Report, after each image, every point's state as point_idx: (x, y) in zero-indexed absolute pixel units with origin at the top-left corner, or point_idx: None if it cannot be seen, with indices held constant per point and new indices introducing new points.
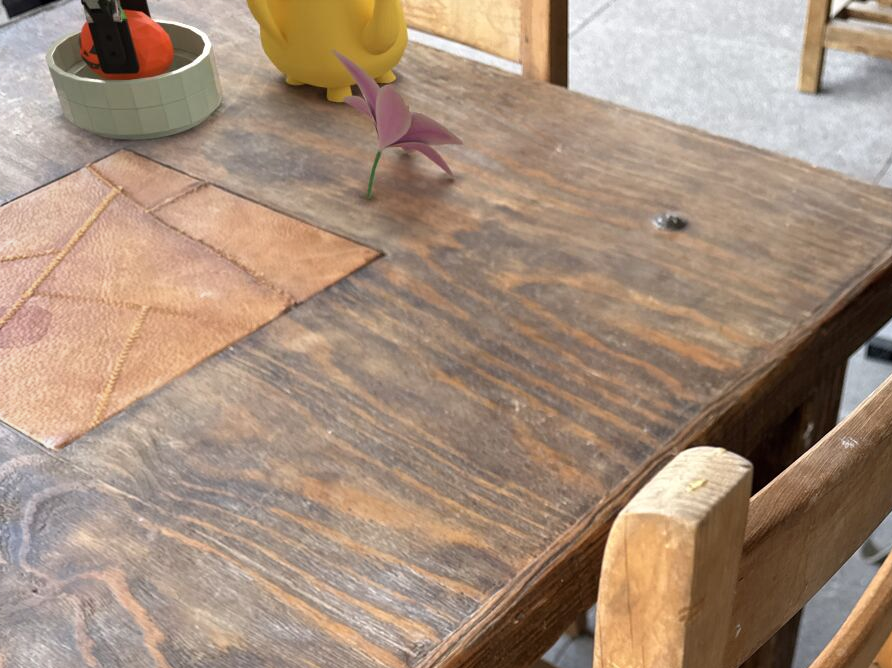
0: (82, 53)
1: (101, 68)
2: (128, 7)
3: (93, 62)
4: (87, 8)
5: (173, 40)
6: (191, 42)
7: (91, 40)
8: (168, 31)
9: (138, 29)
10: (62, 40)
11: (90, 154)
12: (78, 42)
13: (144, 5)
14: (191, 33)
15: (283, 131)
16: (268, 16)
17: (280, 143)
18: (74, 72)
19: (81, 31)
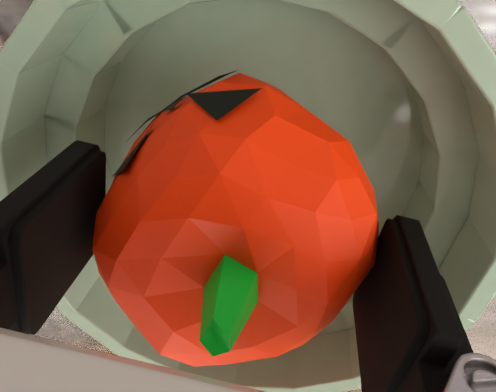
0: (203, 89)
1: (75, 143)
2: (380, 321)
3: (158, 116)
4: None
5: None
6: (352, 348)
7: (145, 159)
8: None
9: (137, 321)
10: (407, 2)
11: (23, 2)
12: (256, 89)
13: (360, 366)
14: (343, 371)
15: None
16: None
17: (78, 337)
18: (327, 7)
19: (208, 134)
